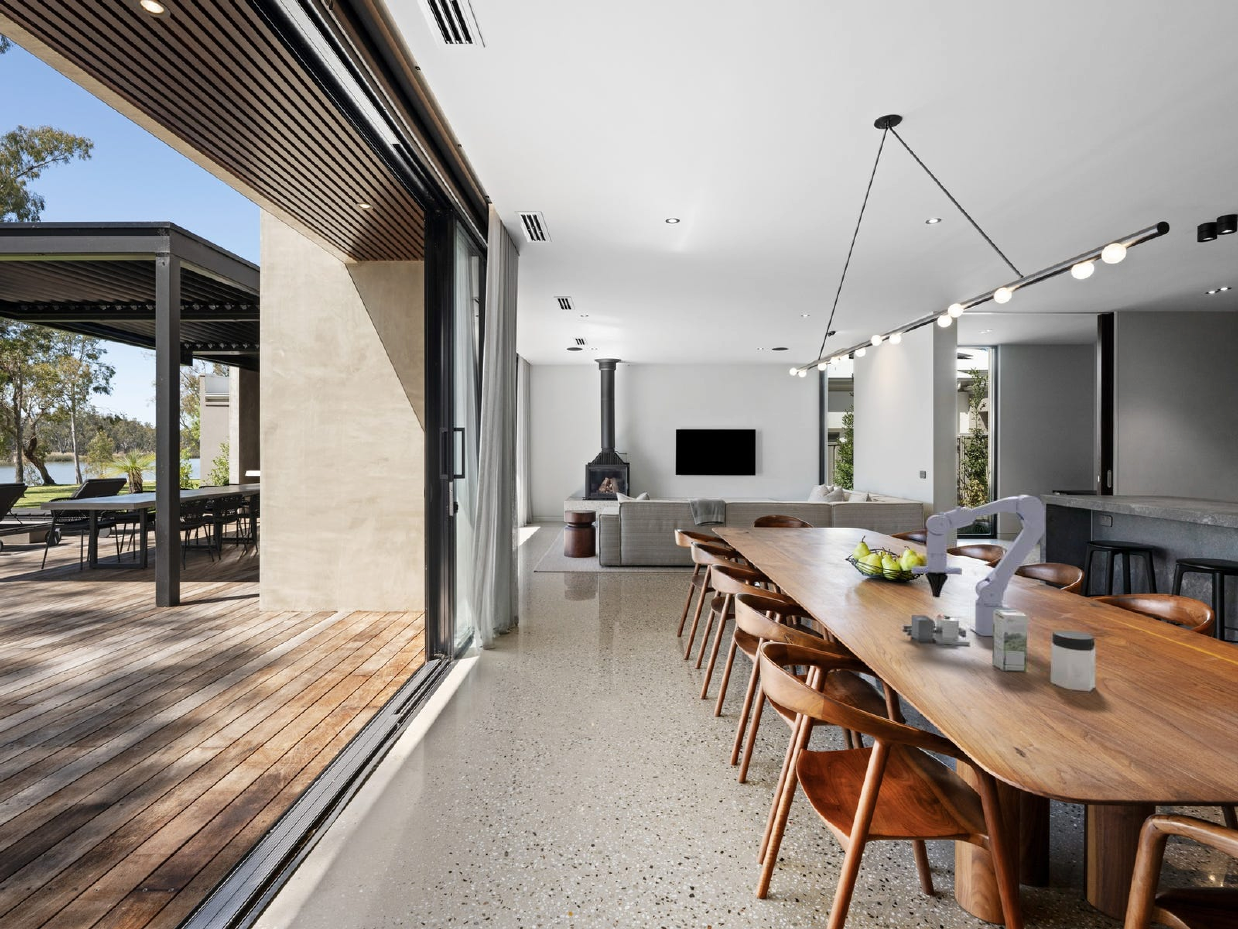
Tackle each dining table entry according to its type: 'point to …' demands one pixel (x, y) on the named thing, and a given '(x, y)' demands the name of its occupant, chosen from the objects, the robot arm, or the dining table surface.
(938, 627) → the block
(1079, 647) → the jar
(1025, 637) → the syrup box
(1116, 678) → the dining table surface
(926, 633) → the press
